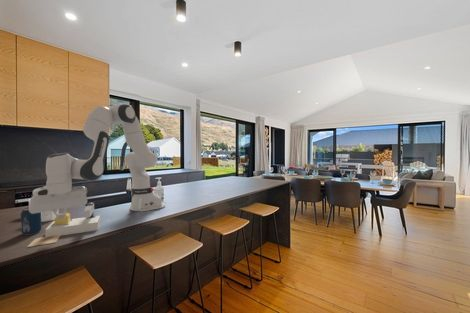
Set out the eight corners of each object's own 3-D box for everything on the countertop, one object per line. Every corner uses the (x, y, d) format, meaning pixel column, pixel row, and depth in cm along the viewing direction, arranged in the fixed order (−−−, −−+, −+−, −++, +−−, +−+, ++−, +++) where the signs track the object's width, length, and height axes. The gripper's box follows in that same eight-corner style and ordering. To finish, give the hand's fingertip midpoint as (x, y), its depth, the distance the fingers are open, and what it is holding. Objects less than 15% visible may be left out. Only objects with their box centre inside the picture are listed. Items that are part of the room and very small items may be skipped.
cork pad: (61, 235, 97) (61, 234, 97) (55, 242, 89) (55, 242, 89) (35, 239, 93) (35, 238, 93) (27, 247, 85) (27, 246, 85)
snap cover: (70, 220, 105) (70, 212, 105) (67, 224, 101) (67, 214, 100) (57, 222, 103) (57, 213, 102) (54, 225, 98) (54, 216, 98)
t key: (94, 215, 114) (94, 201, 113) (90, 223, 100) (90, 208, 100) (88, 215, 112) (88, 202, 112) (83, 224, 99) (83, 209, 99)
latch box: (100, 222, 114) (100, 214, 114) (97, 230, 103) (97, 220, 103) (53, 229, 105) (53, 220, 104) (45, 238, 94) (45, 228, 94)
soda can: (41, 228, 105) (40, 205, 105) (41, 232, 100) (40, 208, 99) (22, 232, 100) (21, 208, 100) (20, 237, 95) (20, 211, 95)
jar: (36, 223, 113) (35, 201, 113) (39, 218, 120) (39, 198, 120) (57, 219, 118) (57, 199, 118) (59, 216, 125) (59, 196, 124)
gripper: (85, 184, 104) (86, 211, 104) (27, 190, 89) (29, 222, 89) (88, 186, 100) (89, 214, 100) (28, 193, 84) (30, 226, 85)
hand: (60, 218), depth 94 cm, fingers closed
